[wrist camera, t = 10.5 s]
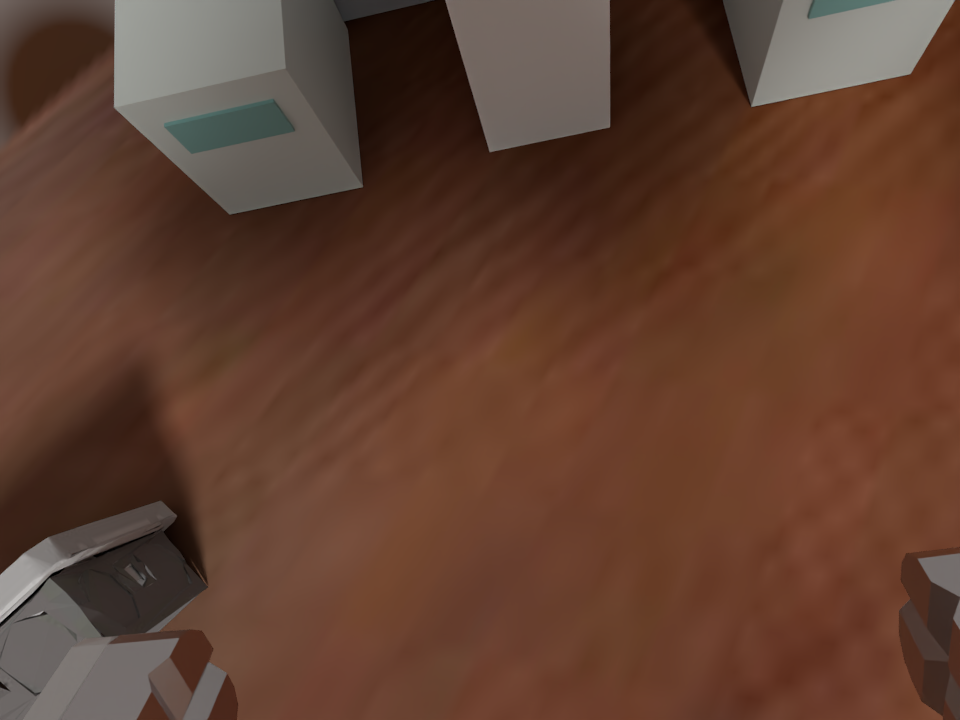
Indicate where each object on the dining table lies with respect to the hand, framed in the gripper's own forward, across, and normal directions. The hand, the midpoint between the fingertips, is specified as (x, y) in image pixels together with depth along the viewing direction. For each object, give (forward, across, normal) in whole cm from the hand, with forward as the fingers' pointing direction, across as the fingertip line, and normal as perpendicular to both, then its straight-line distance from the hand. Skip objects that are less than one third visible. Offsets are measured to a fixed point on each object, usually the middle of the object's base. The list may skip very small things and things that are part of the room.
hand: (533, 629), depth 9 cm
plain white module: (+28, 0, -2) cm, 28 cm away
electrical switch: (+13, +18, +12) cm, 26 cm away
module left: (+28, +11, -2) cm, 30 cm away
